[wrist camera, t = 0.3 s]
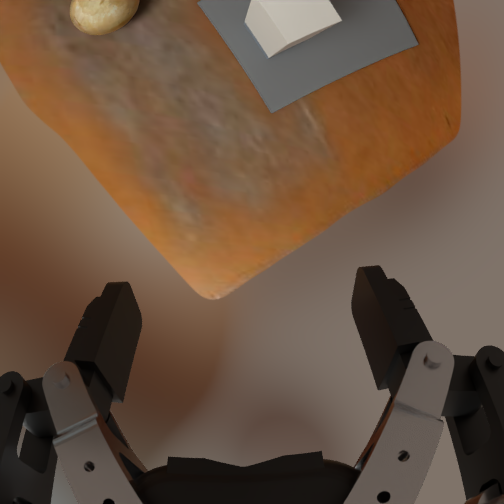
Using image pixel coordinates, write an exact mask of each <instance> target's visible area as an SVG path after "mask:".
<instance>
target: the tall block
mask: <svg viewBox="0 0 504 504" xmlns="http://www.w3.org/2000/svg"><path fill="white" fill-rule="evenodd" d="M341 21H342V20H341V18H340V17H339V15H338V13H337V12H336V10H335V9H334V7H333V5H332V4H331V2H330V1H329V0H251V2H250V5H249V9H248V12H247V15H246V18H245V22H244V26H245V27H246V28H247V30H248V31H249V33H250V34H251V36H252V37H253V39H254V40H255V42H256V43H257V45H258V46H259V48H260V49H261V51H262V52H263V54H264V55H265V57H266V58H267V59H269V58H271V57H273V56H275V55H277V54H279V53H281V52H283V51H285V50H287V49H289V48H291V47H293V46H295V45H297V44H300V43H302V42H304V41H306V40H308V39H309V38H311V37H313V36H315V35H316V34H318V33H320V32H322V31H324V30H325V29H327V28H329V27H331V26H333V25H335V24H337V23H339V22H341Z"/></svg>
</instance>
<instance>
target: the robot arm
mask: <svg viewBox="0 0 504 504" xmlns="http://www.w3.org/2000/svg"><path fill="white" fill-rule="evenodd" d="M351 306H352V307H351V308H352V314H353V318H354V320H355V324H356V326H357V329H358V332H359V335H360V338H361V340H362V344H363V346H364V349H365V352H366V355H367V358H368V361H369V364H370V367H371V370H372V373H373V376H374V380H375V383H376V386H377V389H378V390H382V389H387V388H389V391H390V394H391V396H390V398H389V400H388V402H387V404H386V406H385V409H384V411H383V413H382V415H381V417H380V420H379V422H378V424H377V426H376V428H375V430H374V432H373V434H372V436H371V438H370V440H369V442H368V443H367V445H366V447H365V449H364V450H363V452H362V453H361V455H360V457H359V459H358V461H357V462H356V464H355V466H354V467H351V466H349V465H347V464H344V463H341V462H338V461H333V460H327V459H323V456H322V451H319V452H312V453H304V454H295V455H285V456H281V457H278V458H275V459H271V460H269V461H265V462H261V463H258V464H255V465H251V466H247V467H240V466H235V465H230V464H226V463H221V462H217V461H213V460H209V459H205V458H181V457H168V462H167V465H165V466H161V467H157V468H154V469H152V470H150V471H148V470H147V469H146V467H145V466H144V465H143V463H142V462H141V461H140V459H139V458H138V457H137V456H136V454H135V453H134V451H133V450H132V448H131V447H130V445H129V443H128V441H127V440H126V438H125V436H124V435H123V433H122V431H121V429H120V427H119V425H118V423H117V422H116V420H115V418H114V416H113V414H112V412H111V411H110V406H111V402H118V403H123V400H124V396H125V391H126V387H127V383H128V379H129V374H130V370H131V366H132V362H133V358H134V354H135V351H136V347H137V343H138V340H139V336H140V332H141V328H142V317H141V312H140V310H139V307H138V304H137V302H136V299H135V296H134V294H133V291H132V288H131V286H130V284H129V283H128V282H110V283H107V284H106V286H105V288H104V290H103V292H102V295H101V297H96V298H95V299H94V300H93V301H92V302H91V303H90V304H89V305H88V306H87V308H86V310H85V312H84V314H83V316H82V320H81V321H80V323H79V325H78V329H77V330H76V332H75V334H74V337H73V339H72V342H71V344H70V346H69V348H68V351H67V353H66V356H65V358H64V361H61V362H58V363H55V364H54V365H52V366H51V367H50V368H49V369H48V370H47V371H46V373H45V374H44V377H42V378H37V379H32V380H27V381H25V380H24V379H23V377H22V376H21V375H20V374H19V373H17V372H14V371H11V372H7V373H5V374H3V375H2V376H1V377H0V504H51V496H52V489H53V482H54V475H55V469H56V463H57V458H59V461H60V463H61V466H62V468H63V471H64V473H65V475H66V478H67V480H68V482H69V485H70V486H71V489H72V491H73V493H74V495H75V497H76V499H77V502H78V504H414V502H415V500H416V498H417V496H418V494H419V491H420V489H421V487H422V485H423V482H424V480H425V477H426V475H427V472H428V469H429V467H430V465H431V462H432V459H433V456H434V454H435V451H436V448H437V445H438V443H439V439H440V437H441V434H442V430H443V425H444V422H443V420H440V418H441V416H445V418H446V422H447V425H448V428H449V431H450V435H451V438H452V442H453V446H454V449H455V453H456V456H457V461H458V465H459V469H460V472H461V477H462V481H463V486H464V491H465V495H466V500H467V501H466V502H465V503H464V504H504V352H503V351H502V350H500V349H499V348H497V347H495V346H484V347H482V348H481V349H480V350H479V351H478V353H477V354H476V356H475V357H474V356H459V355H452V353H451V351H450V350H449V349H448V348H447V347H446V346H445V345H443V344H441V343H439V342H436V341H433V339H432V337H431V336H430V334H429V332H428V330H427V328H426V326H425V324H424V322H423V320H422V318H421V317H420V315H419V313H418V311H417V309H415V306H414V304H413V302H412V300H410V297H409V295H408V293H407V291H406V290H405V288H404V287H403V286H402V285H401V284H400V283H399V282H397V281H396V280H395V279H394V278H393V279H387V277H386V275H385V273H384V272H383V270H382V268H381V267H380V266H379V265H377V266H366V267H359V268H358V270H357V273H356V279H355V285H354V290H353V295H352V302H351ZM489 425H490V426H489ZM22 426H24V427H25V428H26V432H25V435H24V440H23V443H22V448H21V452H20V456H19V458H18V455H17V445H18V441H19V437H20V433H21V429H22Z"/></svg>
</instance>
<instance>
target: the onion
mask: <svg viewBox="0 0 504 504" xmlns="http://www.w3.org/2000/svg"><path fill="white" fill-rule="evenodd" d="M139 1H140V0H72V2H71V6H70V17H71V20H72V22H73V24H74V25H75V26H76V27H77V28H78V29H79V30H80V31H82V32H84V33H87V34H91V35H104V34H108V33H111V32H114V31H116V30H118V29H120V28H121V27H123V26H124V25H126V24H127V23H128V22H129V21H130V20H131V18H132V17H133V16H134V14H135V13H136V11H137V10H138V5H139Z"/></svg>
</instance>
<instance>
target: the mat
mask: <svg viewBox="0 0 504 504" xmlns="http://www.w3.org/2000/svg"><path fill="white" fill-rule="evenodd" d="M329 1H330V2H331V4H332V5H333V7H334V9H335V10H336V12H337V13H338V15H339V17H340V18H341V20H342V21H341V22H339V23H337V24H335V25H333V26H331V27H329V28H327V29H325V30H324V31H322V32H320V33H318V34H316V35H315V36H313V37H311V38H309V39H308V40H306V41H304V42H302V43H300V44H297V45H295V46H293V47H291V48H289V49H287V50H285V51H283V52H281V53H279V54H277V55H275V56H273V57H271V58H269V59H267V58H266V57H265V55H264V54H263V52H262V51H261V49H260V48H259V46H258V45H257V43H256V42H255V40H254V39H253V37H252V36H251V34H250V33H249V31H248V30H247V28H246V27H245V26H244V22H245V18H246V15H247V12H248V9H249V5H250V2H251V0H201V1H199V2H198V3H197V4H198V5H199V6H200V8H201V9H202V10H203V12H204V13H205V14H206V16H207V17H208V19H209V20H210V21H211V23H212V24H213V26H214V27H215V28H216V30H217V31H218V33H219V34H220V35H221V37H222V38H223V40H224V41H225V43H226V44H227V45H228V47H229V48H230V50H231V51H232V53H233V54H234V56H235V57H236V59H237V60H238V62H239V63H240V65H241V66H242V68H243V69H244V71H245V72H246V74H247V75H248V77H249V78H250V80H251V82H252V83H253V85H254V86H255V88H256V89H257V91H258V93H259V94H260V96H261V97H262V99H263V101H264V102H265V104H266V105H267V107H268V109H269V110H270V112H271V113H274V112H275V111H277V110H279V109H281V108H283V107H284V106H286V105H288V104H290V103H292V102H294V101H296V100H298V99H299V98H301V97H303V96H305V95H307V94H309V93H311V92H313V91H315V90H317V89H319V88H321V87H323V86H325V85H327V84H329V83H331V82H333V81H335V80H337V79H339V78H341V77H344V76H346V75H348V74H350V73H352V72H354V71H356V70H359V69H361V68H363V67H365V66H368V65H370V64H372V63H374V62H377V61H379V60H381V59H384V58H386V57H389V56H391V55H393V54H396V53H398V52H401V51H403V50H406V49H408V48H411V47H414V46H416V45H419V44H418V42H417V40H416V38H415V36H414V34H413V32H412V30H411V28H410V26H409V24H408V22H407V20H406V19H405V17H404V15H403V13H402V11H401V9H400V8H399V6H398V4H397V2H396V1H395V0H329Z"/></svg>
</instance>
